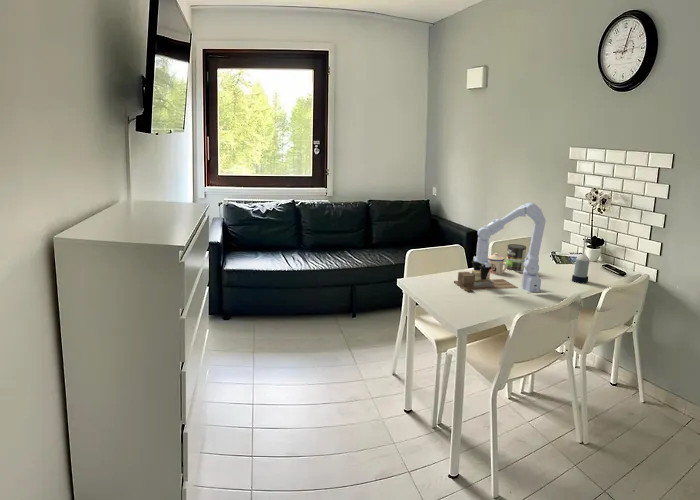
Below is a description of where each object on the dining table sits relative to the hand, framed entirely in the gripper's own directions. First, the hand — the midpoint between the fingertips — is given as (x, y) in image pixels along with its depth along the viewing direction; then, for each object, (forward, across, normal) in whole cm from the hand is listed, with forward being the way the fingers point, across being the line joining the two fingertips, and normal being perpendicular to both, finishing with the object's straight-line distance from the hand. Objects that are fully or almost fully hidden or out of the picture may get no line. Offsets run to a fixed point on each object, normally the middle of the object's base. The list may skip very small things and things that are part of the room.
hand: (480, 277), depth 276 cm
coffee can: (+5, -28, +36) cm, 45 cm away
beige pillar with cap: (+4, 0, 0) cm, 4 cm away
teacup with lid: (+5, -21, +20) cm, 30 cm away
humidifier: (+5, -2, +60) cm, 60 cm away
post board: (+5, 0, +4) cm, 6 cm away
